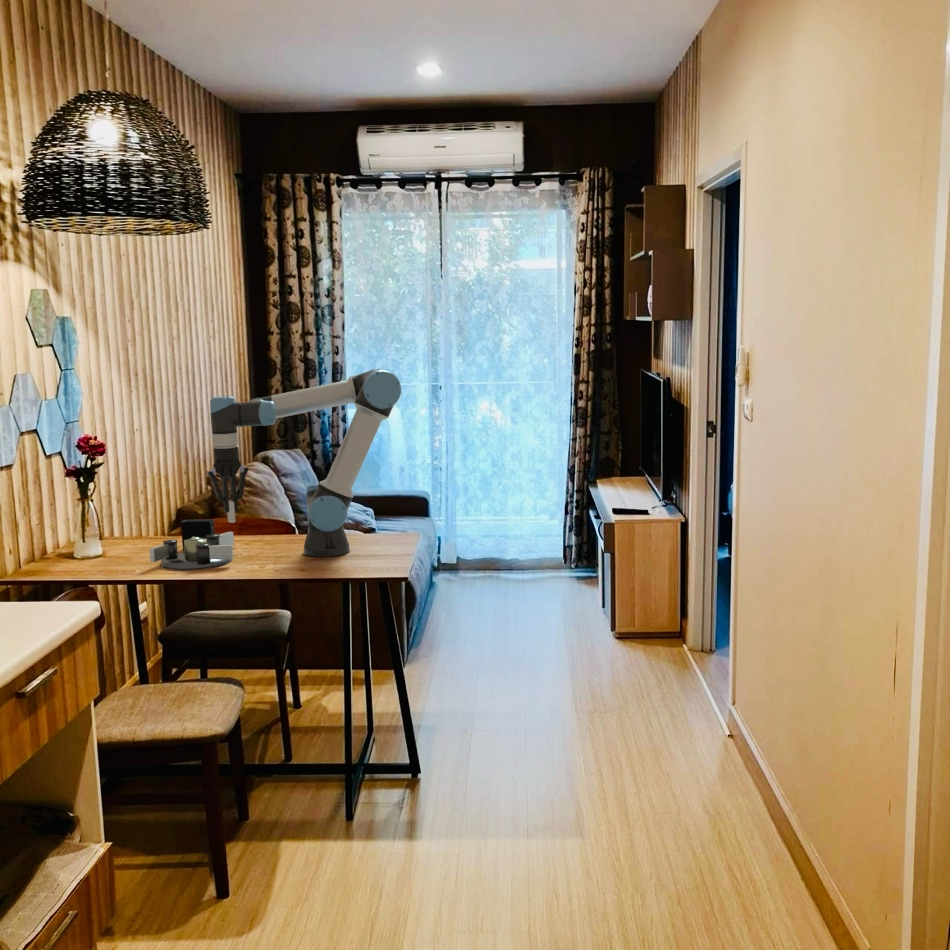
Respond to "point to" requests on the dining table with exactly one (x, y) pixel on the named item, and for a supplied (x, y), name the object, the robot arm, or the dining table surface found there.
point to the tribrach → (191, 558)
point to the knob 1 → (164, 551)
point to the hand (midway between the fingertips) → (231, 521)
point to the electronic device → (196, 528)
